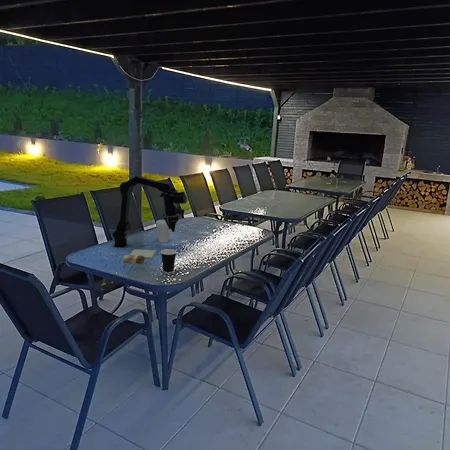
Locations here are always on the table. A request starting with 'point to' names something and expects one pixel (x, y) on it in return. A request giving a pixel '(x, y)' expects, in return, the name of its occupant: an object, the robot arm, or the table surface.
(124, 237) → the robot arm
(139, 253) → the mat
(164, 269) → the dixie cup
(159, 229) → the foam cup
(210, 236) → the table surface
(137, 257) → the two-tone brown block
